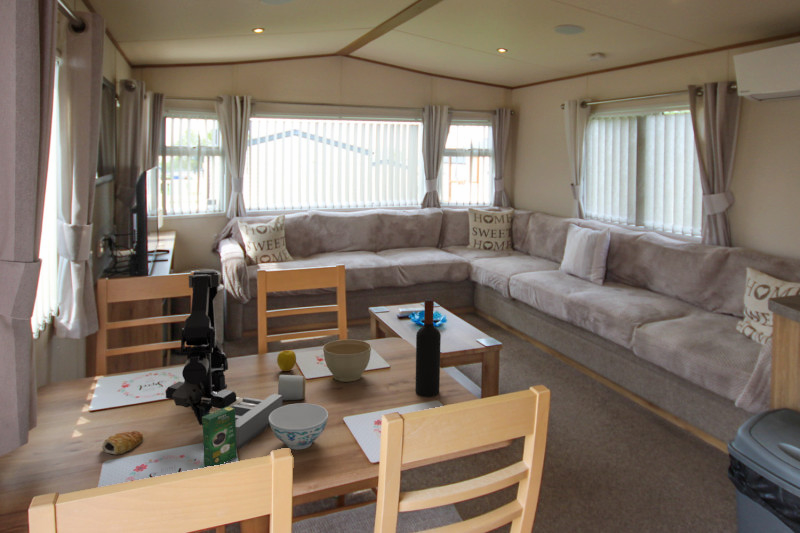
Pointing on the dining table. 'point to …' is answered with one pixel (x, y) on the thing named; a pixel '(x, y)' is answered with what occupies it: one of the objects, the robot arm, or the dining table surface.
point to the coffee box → (219, 436)
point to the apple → (286, 360)
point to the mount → (254, 417)
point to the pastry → (122, 442)
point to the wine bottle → (428, 355)
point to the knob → (242, 403)
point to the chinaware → (298, 424)
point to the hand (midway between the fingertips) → (202, 424)
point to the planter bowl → (347, 358)
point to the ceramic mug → (291, 387)
